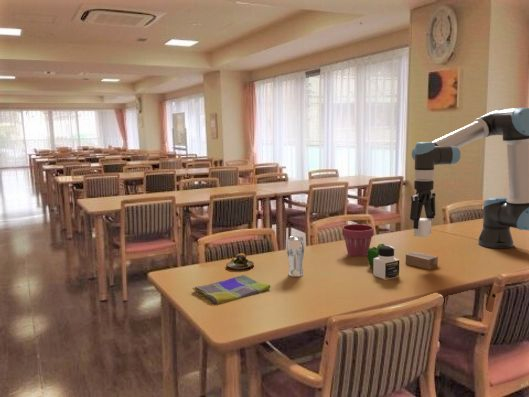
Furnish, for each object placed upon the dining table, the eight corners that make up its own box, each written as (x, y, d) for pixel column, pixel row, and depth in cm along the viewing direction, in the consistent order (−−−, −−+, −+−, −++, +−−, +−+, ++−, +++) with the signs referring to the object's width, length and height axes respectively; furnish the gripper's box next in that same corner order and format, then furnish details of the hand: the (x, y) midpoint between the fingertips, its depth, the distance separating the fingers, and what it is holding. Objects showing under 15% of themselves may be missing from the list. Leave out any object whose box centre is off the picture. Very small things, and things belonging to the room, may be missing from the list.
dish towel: (272, 291, 166) (272, 284, 165) (212, 307, 153) (212, 299, 152) (247, 279, 180) (247, 272, 180) (191, 292, 167) (190, 285, 167)
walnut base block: (414, 260, 198) (415, 251, 197) (437, 266, 189) (437, 256, 188) (405, 263, 194) (405, 254, 193) (428, 269, 185) (428, 259, 184)
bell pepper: (366, 269, 188) (366, 245, 186) (368, 263, 195) (368, 241, 194) (387, 270, 185) (387, 246, 183) (388, 265, 192) (389, 242, 191)
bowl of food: (220, 268, 196) (220, 251, 195) (240, 262, 204) (240, 245, 203) (240, 273, 188) (239, 255, 186) (259, 266, 196) (259, 250, 195)
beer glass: (306, 272, 185) (305, 236, 183) (302, 277, 179) (301, 240, 177) (290, 271, 188) (289, 235, 185) (285, 276, 181) (284, 239, 179)
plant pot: (368, 259, 201) (368, 231, 199) (337, 256, 208) (337, 229, 206) (377, 252, 213) (377, 225, 211) (348, 249, 220) (348, 223, 218)
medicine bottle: (385, 280, 173) (385, 249, 171) (372, 275, 179) (373, 245, 178) (399, 277, 176) (400, 247, 175) (386, 272, 183) (387, 243, 181)
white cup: (432, 237, 185) (433, 220, 184) (414, 237, 187) (415, 220, 186) (429, 233, 192) (430, 217, 191) (412, 233, 193) (413, 217, 192)
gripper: (429, 177, 195) (428, 229, 198) (401, 181, 183) (400, 236, 186) (445, 178, 189) (444, 232, 192) (417, 182, 177) (415, 240, 180)
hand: (422, 234), depth 189 cm, fingers closed on white cup, 7 cm apart
